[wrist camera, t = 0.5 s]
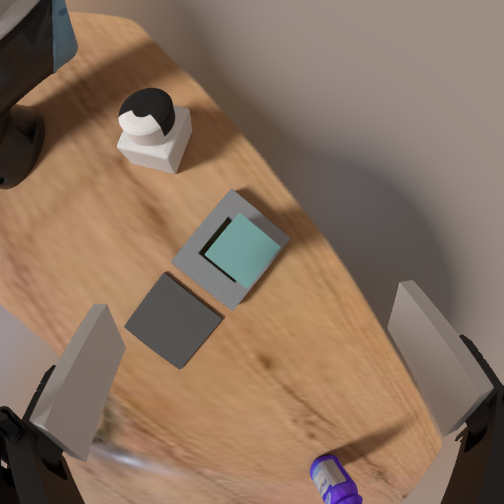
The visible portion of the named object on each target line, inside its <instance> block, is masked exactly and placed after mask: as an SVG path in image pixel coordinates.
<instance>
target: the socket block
mask: <svg viewBox="0 0 504 504" xmlns="http://www.w3.org/2000/svg"><path fill="white" fill-rule="evenodd" d="M239 212H240V213H241V214H242V215H243V216H245V217H246V218H247V219H248V220H249V221H251V222H252V223H253V224H254V225H255V226H257V227H258V228H259V229H260V230H261V231H262V232H264V233H265V234H266V235H267V236H268V237H270V238H271V239H272V240H273V241H274V242H276V243H277V244H278V245H279V246H280V249H279V250H278V251H277V252H276V254H275V255H274V256H273V257H272V259H271V260H270V261H269V262H268V264H267V265H266V266H265V267H264V269H263V270H262V271H261V272H260V274H259V275H258V276H257V277H256V279H255V280H254V281H253V282H252V284H251V285H250V286H249V287H248V288H247V289H246V288H245V287H244V286H242V285H241V284H240V283H239V282H237V281H236V280H234V281H233V280H232V279H230V278H229V277H228V276H227V275H225V274H224V273H223V272H222V271H220V270H219V269H218V268H217V267H215V266H214V265H213V264H212V263H211V262H209V261H208V260H207V259H206V258H204V257H203V256H202V255H201V254H200V253H199V252H200V251H201V250H202V248H203V247H204V246H205V245H206V243H207V242H208V241H209V240H210V239H211V237H212V236H213V235H214V234H215V232H216V231H217V230H218V229H219V228H220V226H221V225H222V224H223V223H224V222H225V220H226V219H229V220H230V221H231V222H232V220H233V219H234V218H235V217H236V216H237V214H238V213H239ZM290 239H291V238H290V237H289V236H287V235H286V234H285V233H284V232H283V231H282V230H280V229H279V228H278V227H277V226H276V225H275V224H273V223H272V222H271V221H270V220H269V219H268V218H266V217H265V216H264V215H263V214H262V213H260V212H259V211H258V210H257V209H256V208H254V207H253V206H252V205H251V204H250V203H248V202H247V201H246V200H245V199H244V198H242V197H241V196H240V195H239V194H238V193H236V192H235V191H234V190H233V189H231V190H230V191H229V192H228V193H227V194H226V195H225V196H224V198H223V199H222V200H221V201H220V202H219V203H218V205H217V206H216V207H215V208H214V209H213V211H212V212H211V213H210V214H209V215H208V216H207V218H206V219H205V220H204V221H203V222H202V224H201V225H200V226H199V227H198V229H197V230H196V231H195V232H194V233H193V235H192V236H191V237H190V238H189V240H188V241H187V242H186V243H185V245H184V246H183V247H182V248H181V250H180V251H179V252H178V253H177V255H176V256H175V257H174V258H173V260H172V261H171V262H172V263H173V264H174V265H175V266H177V267H178V268H179V269H180V270H181V271H183V272H184V273H185V274H186V275H187V276H189V277H190V278H191V279H192V280H194V281H195V282H196V283H197V284H199V285H200V286H201V287H202V288H204V289H205V290H206V291H207V292H209V293H210V294H211V295H212V296H214V297H215V298H216V299H218V300H219V301H220V302H221V303H223V304H224V305H225V306H227V307H228V308H229V309H231V310H232V311H233V310H234V309H235V307H236V306H237V305H238V304H239V303H240V301H241V300H242V299H243V298H244V296H245V295H246V294H247V293H248V291H249V290H250V289H251V288H252V287H253V285H254V284H255V283H256V282H257V280H258V279H259V278H260V277H261V275H262V274H263V273H264V272H265V270H266V269H267V268H268V267H269V265H270V264H271V263H272V262H273V260H274V259H275V258H276V257H277V255H278V254H279V253H280V252H281V250H282V249H283V248H284V246H285V245H286V244H287V243H288V241H289V240H290Z"/></svg>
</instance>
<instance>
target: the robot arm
mask: <svg viewBox="0 0 504 504" xmlns="http://www.w3.org/2000/svg"><path fill="white" fill-rule="evenodd" d="M77 50H78V43H77V40H76V37H75V34H74V31H73V28H72V25H71V21H70V18H69V14H68V11H67V7H66V4H65V0H0V189H9V188H12V187H14V186H16V185H17V184H18V183H20V182H21V181H22V180H23V179H24V178H25V176H26V175H27V174H28V173H29V171H30V170H31V168H32V167H33V165H34V163H35V161H36V159H37V157H38V155H39V152H40V150H41V147H42V143H43V138H44V122H43V119H42V117H41V115H40V114H39V113H38V112H37V111H35V110H34V109H33V108H31V107H29V106H24V105H18V104H16V103H17V102H18V101H19V100H20V99H22V98H23V97H24V96H25V95H26V94H27V93H28V92H30V91H31V90H32V89H33V88H34V87H36V86H37V85H38V84H39V83H41V82H42V81H43V80H44V79H46V78H47V77H48V76H50V75H51V74H54V73H55V72H56V71H57V70H58V69H59V68H60V67H62V66H63V65H64V64H66V63H67V62H68V61H70V60H71V59H72V58H73V57H74V56H75V54H76V53H77ZM387 329H388V330H389V332H390V334H391V335H392V337H393V339H394V341H395V342H396V344H397V346H398V348H399V349H400V351H401V353H402V355H403V357H404V359H405V360H406V362H407V364H408V366H409V368H410V370H411V372H412V373H413V375H414V377H415V379H416V381H417V383H418V385H419V387H420V389H421V391H422V393H423V395H424V397H425V399H426V401H427V403H428V405H429V407H430V409H431V411H432V413H433V415H434V418H435V420H436V422H437V424H438V426H439V429H440V431H441V433H442V435H443V437H444V436H446V435H448V434H450V433H452V432H454V431H456V430H458V429H459V428H460V426H461V425H462V424H463V423H464V422H466V424H467V427H466V428H465V429H464V430H463V431H462V432H461V433H460V434H459V435H458V436H457V437H456V439H455V441H458V439H460V438H461V437H462V436H463V438H462V439H461V440H460V442H461V445H460V450H459V453H458V456H457V460H456V463H455V466H454V469H453V472H452V475H451V478H450V481H449V484H448V486H447V489H446V492H445V494H444V496H443V499H442V501H441V504H504V386H503V385H502V383H501V382H500V381H499V379H498V378H497V376H496V375H495V373H494V372H493V370H492V369H491V368H490V366H489V364H488V363H487V361H486V360H485V359H483V356H482V354H481V353H480V352H478V349H477V348H476V346H475V345H474V344H473V342H472V341H471V340H469V339H468V338H467V337H465V336H464V335H460V336H458V335H457V333H456V332H455V331H454V329H453V328H452V327H451V326H450V324H449V323H448V322H447V320H446V319H445V318H444V317H443V315H442V314H441V313H440V312H439V310H438V309H437V308H436V307H435V305H434V304H433V303H432V302H431V301H430V299H429V298H428V297H427V296H426V295H425V294H424V292H423V291H422V290H421V289H420V288H419V287H418V286H417V284H416V283H415V282H414V281H413V280H411V281H405V282H400V283H399V287H398V291H397V296H396V299H395V303H394V306H393V310H392V314H391V318H390V321H389V324H388V327H387ZM125 349H126V346H125V344H124V342H123V340H122V337H121V335H120V333H119V331H118V329H117V327H116V324H115V322H114V320H113V317H112V315H111V313H110V310H109V308H108V306H107V304H93V306H92V307H91V309H90V310H89V312H88V314H87V315H86V317H85V318H84V320H83V321H82V323H81V324H80V326H79V328H78V329H77V331H76V333H75V334H74V336H73V337H72V339H71V341H70V342H69V344H68V346H67V348H66V349H65V351H64V353H63V354H62V356H61V358H60V360H59V362H58V364H57V365H56V366H55V365H53V366H52V367H51V368H50V369H49V370H48V371H47V372H46V373H45V374H44V376H43V378H42V380H41V382H40V383H41V384H39V386H38V388H37V392H35V394H34V395H33V398H32V400H31V402H30V404H29V406H28V408H27V410H26V412H25V414H24V416H23V418H22V420H21V419H20V418H19V417H18V416H17V415H16V414H15V413H14V412H13V411H12V410H11V409H10V408H9V407H6V406H2V407H0V504H85V503H84V501H83V499H82V497H81V495H80V492H79V490H78V488H77V486H76V484H75V482H74V479H73V477H72V475H71V472H70V470H69V467H68V465H67V462H66V460H65V458H64V456H63V455H62V453H63V451H65V452H66V453H67V454H68V455H70V456H71V457H73V458H76V459H79V460H82V461H85V462H86V461H87V458H88V454H89V451H90V447H91V444H92V441H93V437H94V434H95V431H96V428H97V425H98V422H99V419H100V416H101V413H102V410H103V407H104V404H105V401H106V398H107V396H108V393H109V390H110V387H111V385H112V382H113V379H114V377H115V374H116V372H117V369H118V366H119V364H120V361H121V359H122V356H123V354H124V352H125ZM1 460H2V461H4V462H5V463H6V464H7V468H4V467H3V466H1Z"/></svg>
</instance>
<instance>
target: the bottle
mask: <svg viewBox="0 0 504 504" xmlns="http://www.w3.org/2000/svg"><path fill="white" fill-rule="evenodd" d="M310 475H311V478H312V480H313V482H314V483H315V485H316V487H317V489H318V491H319V493H320V495H321V497H322V498H323V500H324V502H325V504H362V500H363V499H362V497H361V496H360V495H358V490H357V486H356V484H355V482H354V481H353V480H352V478H351V477H350V475H349V474H348V473H347V471H346V470H345V468H344V467H343V465H342V464H341V462H340V461H339V459H338V458H337V457H336V456H334V455H326V456H322V457H319V458H317V459H315V461H314V462H313V464H312V466H311V469H310Z"/></svg>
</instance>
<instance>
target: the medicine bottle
mask: <svg viewBox="0 0 504 504" xmlns="http://www.w3.org/2000/svg"><path fill="white" fill-rule="evenodd" d="M119 123H120V125H121V127H122V129H123V133H122V135H121V137H120V139H119V142H118V144H117V148H118V149H119V150H120V151H121V152H122V153H123V154H124V155H125V157H126V158H127V159H128V160H129V161H130V162H131V163H132V164H136V165H140V166H144V167H148V168H152V169H156V170H159V171H163V172H167V173H171V174H176V173H177V170H178V167H179V165H180V162H181V159H182V157H183V154H184V151H185V149H186V146H187V144H188V141H189V139H190V136H191V134H192V125H191V117H190V110H189V109H188V108H185V107H181V106H176V105H173V103H172V99H171V97H170V96H169V95H168V94H167V93H166V92H165V91H163V90H161V89H157V88H146V89H142V90H139V91H137V92H135V93H133V94H132V95H131V96H129V97H128V98H127V99H126V100H125V102H124V103H123V104H122V106H121V108H120V111H119Z"/></svg>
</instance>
